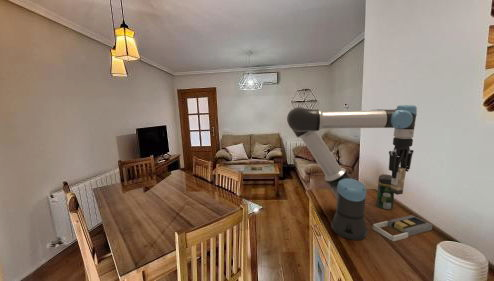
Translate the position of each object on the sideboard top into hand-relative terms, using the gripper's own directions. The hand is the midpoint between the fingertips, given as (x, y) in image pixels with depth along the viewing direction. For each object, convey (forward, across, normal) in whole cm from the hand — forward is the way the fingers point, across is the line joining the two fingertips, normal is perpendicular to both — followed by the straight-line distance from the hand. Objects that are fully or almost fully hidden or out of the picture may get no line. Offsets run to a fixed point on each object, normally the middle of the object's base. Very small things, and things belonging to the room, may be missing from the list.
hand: (397, 183), depth 101 cm
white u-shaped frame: (+19, -13, -8) cm, 25 cm away
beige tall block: (+5, 0, 0) cm, 5 cm away
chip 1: (+19, -6, -8) cm, 22 cm away
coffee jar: (+20, +8, +12) cm, 24 cm away
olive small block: (+19, -1, -8) cm, 21 cm away
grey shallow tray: (+19, -1, -8) cm, 21 cm away
